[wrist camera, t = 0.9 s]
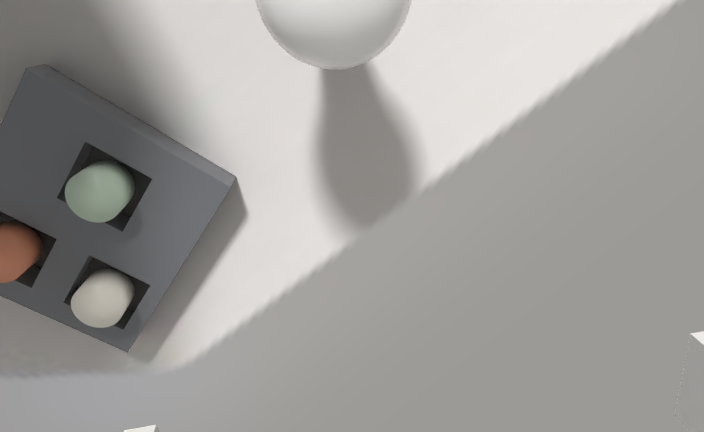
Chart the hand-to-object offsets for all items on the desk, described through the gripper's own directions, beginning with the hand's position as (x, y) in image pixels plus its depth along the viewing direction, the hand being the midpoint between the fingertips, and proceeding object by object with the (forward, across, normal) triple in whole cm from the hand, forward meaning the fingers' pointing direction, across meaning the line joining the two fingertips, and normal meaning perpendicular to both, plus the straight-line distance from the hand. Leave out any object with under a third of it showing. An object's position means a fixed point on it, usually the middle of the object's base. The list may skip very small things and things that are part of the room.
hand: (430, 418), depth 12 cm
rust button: (+19, -21, -1) cm, 29 cm away
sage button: (+19, -15, +2) cm, 24 cm away
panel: (+21, -17, -1) cm, 26 cm away
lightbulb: (+21, 0, +10) cm, 23 cm away
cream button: (+19, -17, -5) cm, 26 cm away
